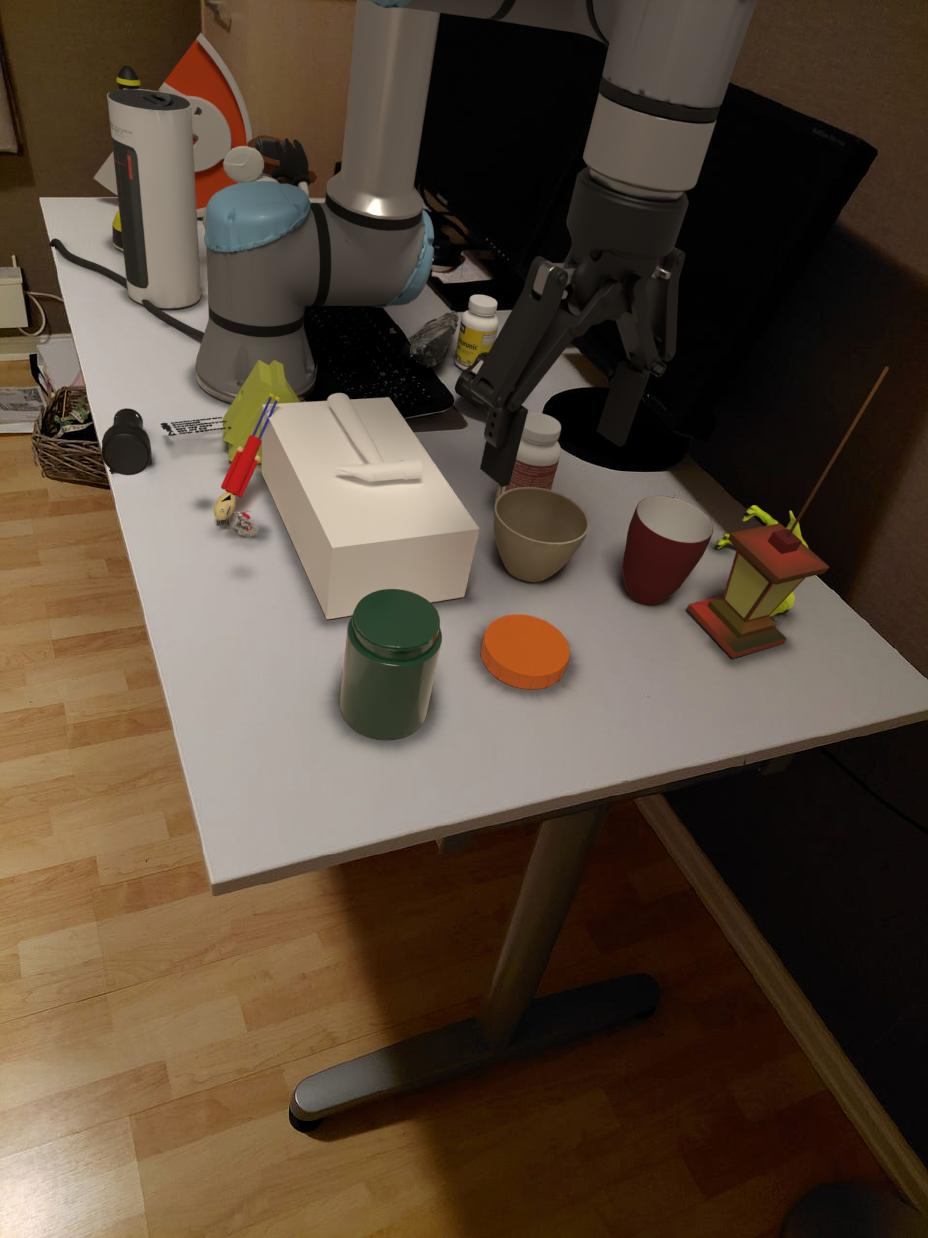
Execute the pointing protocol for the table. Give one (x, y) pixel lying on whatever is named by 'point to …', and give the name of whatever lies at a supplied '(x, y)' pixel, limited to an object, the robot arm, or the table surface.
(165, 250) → the speaker
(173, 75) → the wall plaque
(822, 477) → the light fixture
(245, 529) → the figurine
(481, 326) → the supplement bottle
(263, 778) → the table surface
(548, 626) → the lid
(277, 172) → the toy
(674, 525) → the mug
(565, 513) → the flower pot
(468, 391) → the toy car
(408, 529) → the hammer relief block
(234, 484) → the figurine
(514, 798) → the table surface
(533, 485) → the pill bottle
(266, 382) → the bracket
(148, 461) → the flashlight
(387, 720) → the jar
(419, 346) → the rock
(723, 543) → the dinosaur figurine
